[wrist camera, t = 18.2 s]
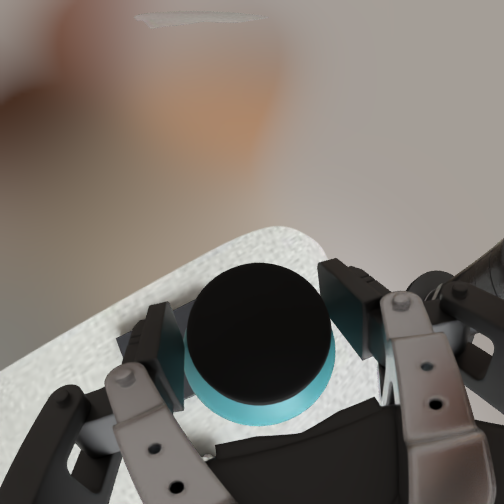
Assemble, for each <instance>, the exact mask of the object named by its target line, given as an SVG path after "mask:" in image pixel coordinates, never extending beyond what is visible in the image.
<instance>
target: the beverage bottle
mask: <svg viewBox="0 0 504 504" xmlns="http://www.w3.org/2000/svg"><path fill="white" fill-rule="evenodd" d="M183 341H184V347H185V359H184V371H185V375H186V377H187V380H188V382H189V384H190V386H191V388H192V390H193V392H194V393H195V394H196V396H197V397H198V398H199V399H200V400H201V402H202V403H203V404H204V405H205V406H206V407H208V408H209V409H210V410H211V411H213V412H214V413H216V414H218V415H219V416H221V417H223V418H225V419H227V420H229V421H232V422H235V423H239V424H243V425H249V426H267V425H273V424H278V423H282V422H284V421H287V420H290V419H292V418H294V417H296V416H298V415H299V414H301V413H302V412H304V411H305V410H307V409H308V408H309V407H310V406H311V405H312V404H313V403H314V402H315V401H316V400H317V399H318V398H319V397H320V395H321V394H322V392H323V391H324V389H325V388H326V386H327V384H328V382H329V380H330V377H331V374H332V371H333V367H334V362H335V340H334V336H333V331H332V329H331V321H330V317H329V313H328V310H327V308H326V305H325V303H324V301H323V299H322V298H321V296H320V295H319V293H318V292H317V291H316V289H315V288H314V287H313V286H312V285H311V284H310V283H309V282H308V281H307V280H306V279H304V278H303V277H302V276H300V275H299V274H297V273H296V272H294V271H292V270H290V269H287V268H285V267H282V266H278V265H274V264H269V263H250V264H244V265H240V266H237V267H234V268H231V269H229V270H227V271H225V272H223V273H221V274H220V275H218V276H217V277H215V278H214V279H213V280H212V281H210V282H209V283H208V284H207V285H206V286H205V287H204V288H203V290H202V291H201V292H200V294H199V295H198V297H197V298H196V300H195V302H194V304H193V306H192V308H191V311H190V314H189V318H188V323H187V328H186V331H185V335H184V339H183Z"/></svg>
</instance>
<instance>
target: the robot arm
mask: <svg viewBox="0 0 504 504" xmlns="http://www.w3.org/2000/svg"><path fill="white" fill-rule="evenodd" d="M317 269H318V278H319V287H320V296H321V298H322V299H323V301H324V303H325V305H326V308H327V310H328V313H329V317H330V319H331V320H332V321H333V323H334V324H335V325H336V326H337V328H338V329H339V330H340V332H341V333H342V334H343V336H344V337H345V338H346V339H347V341H348V342H349V343H350V345H351V346H352V347H353V349H354V350H355V351H356V353H357V354H358V355H359V356H360V358H361V359H362V360H365V359H367V358H370V357H372V356H374V358H375V359H376V360H377V375H378V389H379V403H378V401H377V400H376V398H375V397H373V398H370V399H368V400H366V401H363V402H361V403H358V404H356V405H353V406H351V407H348V408H346V409H343V410H341V411H338V412H337V413H335V414H333V415H332V416H330V417H328V418H327V419H325V420H324V421H322V422H320V423H318V424H317V425H315V426H313V427H312V428H310V429H308V430H306V431H304V432H302V433H298V434H289V435H276V436H256V437H251V438H247V439H243V440H238V441H233V442H228V443H223V444H217V445H215V449H216V457H213V458H211V459H209V460H207V461H204V460H203V459H202V457H201V456H200V454H199V453H198V452H197V450H196V449H195V447H194V446H193V445H192V443H191V442H190V440H189V439H188V437H187V436H186V434H185V433H184V431H183V430H182V428H181V427H180V425H179V424H178V422H177V421H176V419H175V418H174V416H173V412H178V411H184V359H185V347H184V341H183V337H182V335H181V332H180V329H179V327H178V324H177V321H176V319H175V316H174V313H173V311H172V308H171V306H170V304H169V302H168V301H167V302H163V303H159V304H154V305H150V306H149V308H148V312H147V315H146V319H144V320H140V321H139V322H138V323H137V324H136V325H135V327H134V328H133V329H132V332H131V335H130V339H129V342H128V345H127V348H126V351H125V355H124V358H123V361H122V365H119V366H117V367H116V368H114V369H113V370H112V371H111V372H110V373H109V374H108V375H107V377H106V379H105V383H104V384H105V387H103V388H101V389H99V390H96V391H93V392H90V393H88V394H84V393H83V391H82V390H81V388H80V387H78V386H77V385H65V386H63V387H60V388H59V389H57V390H56V391H54V392H53V393H52V394H51V396H50V397H49V398H48V400H47V402H46V403H45V405H44V407H43V408H42V410H41V412H40V413H39V415H38V417H37V419H36V420H35V422H34V424H33V425H32V427H31V429H30V431H29V433H28V434H27V436H26V438H25V440H24V442H23V443H22V445H21V447H20V449H19V451H18V453H17V455H16V457H15V459H14V461H13V463H12V464H11V466H10V469H9V471H8V473H7V475H6V477H5V479H4V481H3V483H2V485H1V487H0V504H109V500H110V497H111V493H112V490H113V486H114V483H115V479H116V476H117V473H118V469H119V466H120V463H121V459H122V457H123V459H124V462H125V464H126V467H127V469H128V472H129V474H130V476H131V479H132V481H133V483H134V485H135V488H136V490H137V492H138V494H139V496H140V498H141V500H142V502H143V504H504V425H499V424H494V423H488V422H483V421H479V420H474V416H473V413H472V409H471V406H470V402H469V399H468V395H467V392H466V389H465V386H466V387H468V388H469V389H470V390H472V391H473V392H474V393H476V394H477V395H479V396H480V397H481V398H483V399H484V400H485V401H486V402H488V403H489V404H490V405H492V406H493V407H495V408H496V409H497V410H498V411H500V412H501V413H502V414H504V238H503V239H502V240H501V241H500V242H498V243H497V244H496V245H495V246H494V247H493V248H491V249H490V250H489V251H488V252H486V253H485V254H484V255H483V256H481V257H480V258H479V259H478V260H476V261H475V262H473V263H472V264H471V265H469V266H468V267H466V268H465V269H464V270H462V271H461V272H460V273H458V274H457V275H455V276H454V277H452V278H451V279H450V280H448V281H447V282H445V283H444V284H440V285H439V286H438V287H437V288H435V289H434V290H432V291H431V292H429V293H428V294H427V296H426V297H425V299H424V301H423V302H422V300H421V298H420V297H419V296H418V295H416V294H414V293H412V292H408V291H396V292H391V291H389V290H388V289H386V288H385V287H384V286H383V285H382V284H380V283H379V282H378V281H376V280H375V279H374V278H372V277H371V276H369V274H367V273H366V272H365V271H363V270H362V269H359V268H355V267H353V266H349V267H347V266H346V265H345V264H343V263H342V262H341V261H339V260H338V259H337V258H334V259H331V260H327V261H323V262H320V263H318V266H317ZM477 333H481V334H483V335H485V336H486V337H488V338H489V339H490V340H491V341H492V342H493V344H494V353H493V356H491V355H490V354H488V353H486V352H485V351H483V350H482V349H480V348H478V347H477V346H475V345H474V344H472V343H470V342H469V341H468V337H469V336H472V335H474V334H477ZM464 385H465V386H464ZM75 443H76V444H77V445H78V447H79V448H80V449H81V452H80V454H79V456H78V459H77V461H76V464H75V466H74V469H73V471H72V474H71V475H70V473H69V471H68V469H67V460H68V457H69V455H70V453H71V450H72V448H73V446H74V444H75Z"/></svg>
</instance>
